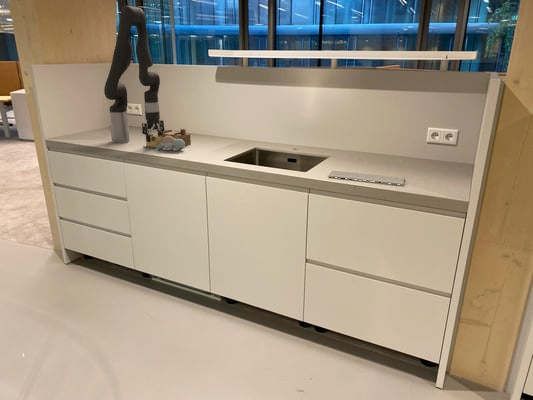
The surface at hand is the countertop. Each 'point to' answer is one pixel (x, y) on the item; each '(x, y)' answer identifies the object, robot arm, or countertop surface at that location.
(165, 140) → the toy
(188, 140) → the brown notched block
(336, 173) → the flat grey slab
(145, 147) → the mat
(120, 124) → the robot arm
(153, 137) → the olive yellow block
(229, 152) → the countertop surface
